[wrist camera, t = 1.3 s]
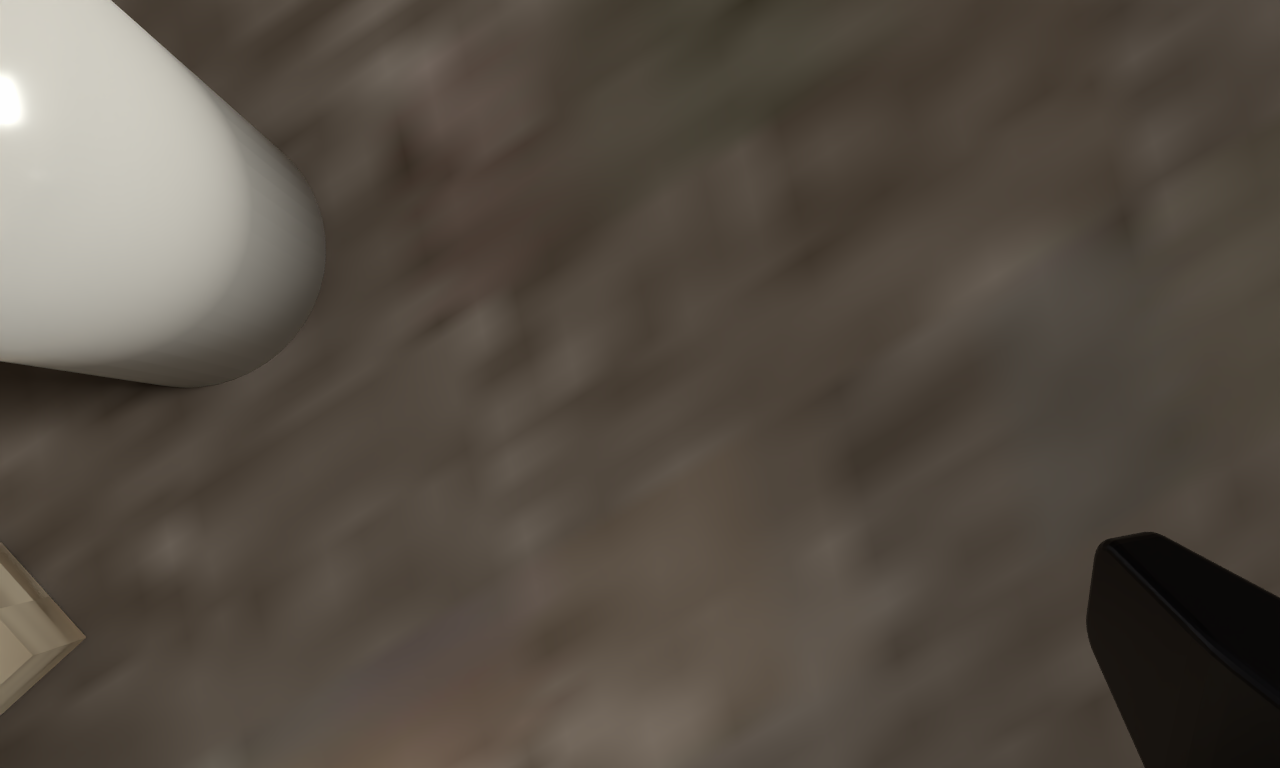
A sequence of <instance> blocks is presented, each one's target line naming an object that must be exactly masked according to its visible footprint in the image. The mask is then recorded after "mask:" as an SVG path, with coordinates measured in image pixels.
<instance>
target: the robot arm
mask: <svg viewBox="0 0 1280 768" xmlns="http://www.w3.org/2000/svg"><path fill="white" fill-rule="evenodd" d="M1086 625H1087V633H1088V638H1089V642H1090V645H1091V648H1092V650H1093V653H1094V655H1095V657H1096V660H1097V662H1098V664H1099V666H1100V669H1101V671H1102V673H1103V675H1104V677H1105V680H1106V682H1107V684H1108V686H1109V689H1110V691H1111V693H1112V695H1113V698H1114V700H1115V702H1116V704H1117V707H1118V709H1119V711H1120V713H1121V716H1122V718H1123V720H1124V722H1125V724H1126V727H1127V729H1128V731H1129V733H1130V736H1131V738H1132V740H1133V742H1134V745H1135V747H1136V749H1137V751H1138V754H1139V756H1140V758H1141V760H1142V763H1143V765H1144V767H1145V768H1280V598H1279V597H1278V596H1276V595H1274V594H1272V593H1270V592H1268V591H1266V590H1264V589H1263V588H1261V587H1259V586H1257V585H1255V584H1253V583H1251V582H1249V581H1248V580H1246V579H1244V578H1242V577H1240V576H1238V575H1236V574H1234V573H1233V572H1231V571H1229V570H1227V569H1225V568H1223V567H1221V566H1219V565H1217V564H1216V563H1214V562H1212V561H1210V560H1208V559H1206V558H1204V557H1202V556H1201V555H1199V554H1197V553H1195V552H1193V551H1191V550H1189V549H1187V548H1186V547H1184V546H1182V545H1180V544H1178V543H1176V542H1174V541H1172V540H1171V539H1169V538H1167V537H1165V536H1163V535H1160V534H1158V533H1154V532H1142V533H1137V534H1132V535H1126V536H1121V537H1116V538H1111V539H1107V540H1105V541H1103V542H1102V543H1101V544H1100V545H1099V546H1098V548H1097V550H1096V553H1095V557H1094V564H1093V571H1092V578H1091V586H1090V593H1089V600H1088V608H1087V616H1086Z"/></svg>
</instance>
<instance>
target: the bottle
mask: <svg viewBox="0 0 1280 768" xmlns="http://www.w3.org/2000/svg"><path fill="white" fill-rule="evenodd" d="M325 261H326V239H325V232H324V225H323V220H322V217H321V213H320V210H319V206H318V204H317V201H316V199H315V197H314V195H313V192H312V190H311V188H310V187H309V185H308V183H307V182H306V180H305V178H304V177H303V175H302V174H301V172H300V171H299V170H298V169H297V167H296V166H295V165H294V164H293V163H292V161H291V160H290V159H289V158H288V157H287V156H285V155H284V154H283V153H282V152H281V151H280V150H279V149H278V148H277V147H276V146H275V145H274V144H272V143H271V142H270V141H269V140H268V139H267V138H266V137H265V136H263V135H262V134H261V133H260V132H259V131H258V130H257V129H256V128H254V127H253V126H252V125H251V124H250V123H249V122H248V121H246V120H245V119H244V118H243V117H242V116H241V115H240V114H239V113H237V112H236V111H235V110H234V109H233V108H232V107H231V106H230V105H228V104H227V103H226V102H225V101H224V100H223V99H222V98H221V97H219V96H218V95H217V94H216V93H215V92H214V91H213V90H212V89H210V88H209V87H208V86H207V85H206V84H205V83H204V82H202V81H201V80H200V79H199V78H198V77H197V76H196V75H195V74H193V73H192V72H191V71H190V70H189V69H188V68H187V67H186V66H184V65H183V64H182V63H181V62H180V61H179V60H178V59H177V58H175V57H174V56H173V55H172V54H171V53H170V52H169V51H168V50H166V49H165V48H164V47H163V46H162V45H161V44H160V43H158V42H157V41H156V40H155V39H154V38H153V37H152V36H151V35H149V34H148V33H147V32H146V31H145V30H144V29H143V28H142V27H140V26H139V25H138V24H137V23H136V22H135V21H134V20H133V19H131V18H130V17H129V16H128V15H127V14H126V13H125V12H124V11H122V10H121V9H120V8H119V7H118V6H117V5H116V4H114V3H113V2H112V1H111V0H0V361H2V362H9V363H16V364H22V365H29V366H36V367H42V368H49V369H56V370H62V371H69V372H76V373H82V374H89V375H95V376H102V377H109V378H115V379H122V380H129V381H135V382H142V383H149V384H155V385H162V386H171V387H180V388H186V387H204V386H210V385H217V384H220V383H224V382H227V381H230V380H234V379H236V378H239V377H241V376H243V375H246V374H248V373H250V372H252V371H254V370H255V369H257V368H259V367H260V366H262V365H264V364H265V363H267V362H268V361H269V360H271V359H272V358H273V357H274V356H276V355H277V354H278V353H279V352H281V351H282V350H283V349H284V348H285V347H286V346H287V345H288V343H289V342H290V341H291V340H292V339H293V338H294V337H295V336H296V334H297V333H298V332H299V330H300V329H301V328H302V326H303V325H304V323H305V321H306V320H307V318H308V316H309V314H310V313H311V311H312V309H313V307H314V304H315V302H316V299H317V297H318V294H319V292H320V288H321V284H322V280H323V276H324V269H325Z"/></svg>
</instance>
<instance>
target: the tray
mask: <svg viewBox="0 0 1280 768" xmlns="http://www.w3.org/2000/svg"><path fill="white" fill-rule="evenodd" d="M85 638H86V637H85V635H84V634H83V633H82V632H81V631H80V630H79V629H78V628H77V626H76V625H75V624H74V623H73V622H72V621H71V620H70V619H69V618H68V616H67V615H66V614H65V613H64V612H63V611H62V610H61V609H60V607H59V606H58V605H57V604H56V603H55V602H54V601H53V600H52V599H51V597H50V596H49V595H48V594H47V593H46V592H45V591H44V590H43V588H42V587H41V586H40V585H39V584H38V583H37V582H36V581H35V580H34V578H33V577H32V576H31V575H30V574H29V573H28V572H27V571H26V569H25V568H24V567H23V566H22V565H21V564H20V563H19V562H18V561H17V559H16V558H15V557H14V556H13V555H12V554H11V553H10V552H9V550H8V549H7V548H6V547H5V546H4V545H3V544H2V543H1V542H0V715H1V714H3V713H4V712H5V711H6V710H7V709H8V708H9V707H10V706H11V705H12V704H14V703H15V702H16V701H17V700H18V699H19V698H20V697H21V696H22V695H23V694H25V693H26V692H27V691H28V690H29V689H30V688H31V687H32V686H33V685H35V684H36V683H37V682H38V681H39V680H40V679H41V678H42V677H43V676H44V675H46V674H47V673H48V672H49V671H50V670H51V669H52V668H53V667H54V666H55V665H57V664H58V663H59V662H60V661H61V660H62V659H63V658H64V657H65V656H66V655H68V654H69V653H70V652H71V651H72V650H73V649H74V648H75V647H76V646H77V645H79V644H80V643H81V642H82V641H83V640H84V639H85Z"/></svg>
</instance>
